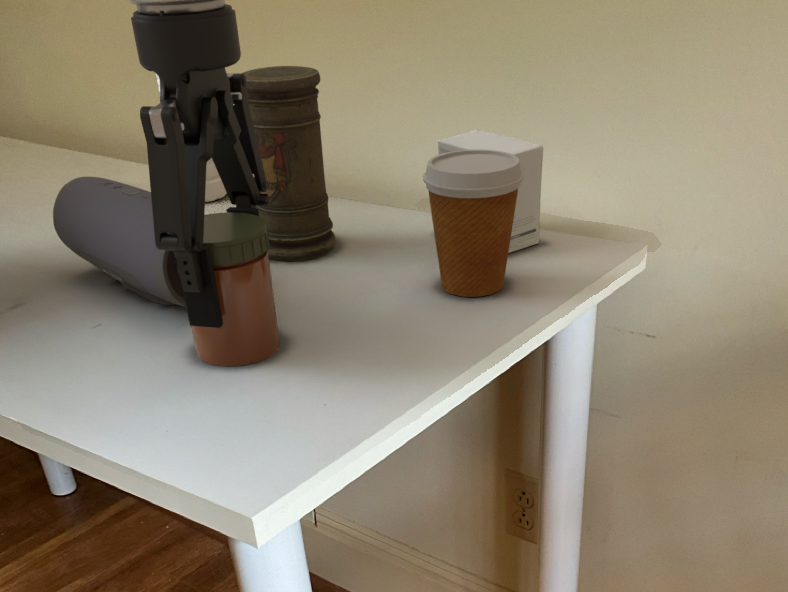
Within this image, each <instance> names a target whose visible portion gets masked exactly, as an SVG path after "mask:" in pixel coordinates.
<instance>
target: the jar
mask: <svg viewBox="0 0 788 592" xmlns="http://www.w3.org/2000/svg"><path fill="white" fill-rule="evenodd" d="M213 268H214V273H215V279H216V285H217V291H218V297H219V302H220V308H221V314H222V320H223V325H222V326H221V327H220V328H213V327H200V326H190V329H191V335H192V339H193V344H194V350H195V354H196V357H197V358H198V359H199V360H201V361H202V362H204V363H206V364H209V365H213V366H219V367H220V366H221V367H239V366H246V365H250V364H255V363H258V362H261V361H264V360H266V359H268V358H270V357H272V356H273V355H274V354H276V353H277V351H278V350H279V349H280V347H281V338H280V331H279V330H280V329H279V323H278V322H279V321H278V316H277V315H278V314H277V309H276V300H275V293H274V286H273V279H272V270H271V264H270V258H269V255H268V250H267V251H266V252H264V253H263V254H262V255H260V256H258V257H256V258H253V259H251V260H248V261H245V262H241V263H236V264H230V265H222V266H213Z"/></svg>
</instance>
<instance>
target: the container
mask: <svg viewBox="0 0 788 592" xmlns="http://www.w3.org/2000/svg"><path fill="white" fill-rule="evenodd" d="M242 73H243V74H244V75H245V77H246V81H247V92H248V103H249V108H250V112H251V116H252V120H253V125H254V129H255V133H256V138H257V142H258V146H259V150H260V155H261V159H262V163H263V168H264V172H265V176H266V180H267V190H266V192H260V193H263V194H268V198H269V200H268V205H267V206H257V208H258V210H259V217H261V218H263V219H264V220H265V222H266V227H267V229H268V235H269V242H270V245H269V247H268V249H267V250H268V255H269V260H275V261H282V262H283V261H284V262H295V261H297V262H298V261H305V260H311V259H316V258H320V257H322V256H324V255H326V254H328V253H330V252H331V251H332V250H333V249H334V248H335V245H336V235H335V233H334V232H333V230H332V229H333V228H334V223H333V221H332V219H331V217H330V209H329V196H328V193H327V187H326V178H325V176H326V175H325V167H324V166H325V165H324V154H323V143H322V132H321V119H322V117H321V113H320V111H319V101H318V98H319V93H320V90H319V89H318V88H317V86H318V85H319V84H320V83H321V74H320V71H319V70H318V69H316V68H314V67H309V66H301V65H274V66H266V67H258V68H253V69H250V70H249V69H248V70H246V71H244V72H242ZM253 177H255V176H254V175H253Z"/></svg>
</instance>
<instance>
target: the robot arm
mask: <svg viewBox="0 0 788 592" xmlns="http://www.w3.org/2000/svg"><path fill="white" fill-rule="evenodd" d="M127 1H128V2H129V3H130V4H132V5H136V10H135V11H134V12H133V13H132V16H131V17H130V20H131V21H130V22H131V26H132V31H133V32H132V33H133V36H134V41H135V46H136V47H135V48H136V52H137V56H138V62H139V64H140V66H141V67H142V68H143V69H144V70H146V71H149V72H154V73H155V75H156V74H157V75H158V76H159V79H160V92H159V103H158V104H157V105H155V106H149V105H146V106H145V105H143V106H141V107H140V108H139V118H140V122H141V126H142V130H143V131H142V132H143V134H144V138H145V142H146V152H147V164H148V165H147V166H148V174H149V175H148V176H149V185H150V192H151V200H152V211H153V223H154V235H155V244H156V247H157V249H158V250H171V251H174V253H175V255H176V258H177V263H178V268H179V273H180V278H181V283H182V288H183V293H184V298H185V303H186V307H185V308H186V313H187V318H188V323H189V327H191V326H200V327H213V328H220V327H221V326H222V325H223V320H222V314H221V308H220V302H219V297H218V291H217V285H216V279H215V273H214V268H213V262H212V256H211V250H210V247H205V246H203V236H204V215H205V210H206V202H205V188H206V164H207V161H209V160H210V159H211V158H212V160H213V162H214V164H215V167H216V169H217V171H218V174H219V176H220V178H221V181H222V183H223V185H224V188H225V190H226V192H227V194H226V196H227V197H228V199H229V202H230V203H231V205H234V206H229V207H228V208H227V209H225V211H226V213H227V212H236V213H247V214H253V215H256V216H259V210H258V208H257V206H267V205H268V200H269V198H268V194H263V193H260V192H266V190H267V180H266V176H265V172H264V168H263V163H262V159H261V155H260V150H259V146H258V142H257V138H256V133H255V129H254V125H253V120H252V116H251V112H250V108H249V103H248V92H247V81H246V77H245V75H244V74H243V72H241V73H238V72H237V73H236V72H235V73H233V72H231V73H229V72H228V73H227V70H226V68H229V67H231V66H234V65H236V64H237V63H238V62H239V61H240V59H241V56H242V52H241V51H242V50H241V44H240V43H241V42H240V36H239V30H238V22H237V15H236V10H235V9H233V6H232V5H231V4H227V3H226V0H127ZM254 176H255V177H254Z"/></svg>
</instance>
